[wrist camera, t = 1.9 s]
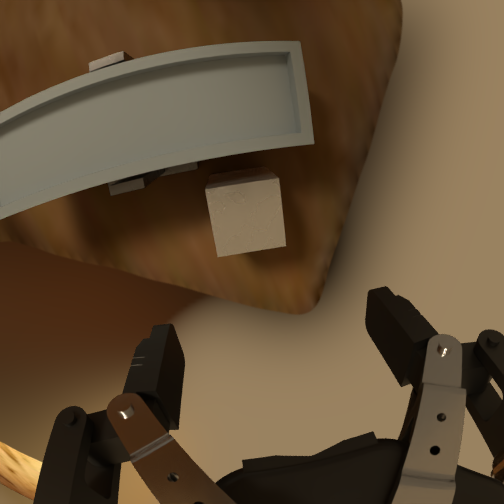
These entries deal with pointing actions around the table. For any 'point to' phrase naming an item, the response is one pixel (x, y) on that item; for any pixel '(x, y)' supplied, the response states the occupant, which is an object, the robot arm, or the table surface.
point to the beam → (152, 118)
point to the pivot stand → (144, 178)
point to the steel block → (245, 211)
